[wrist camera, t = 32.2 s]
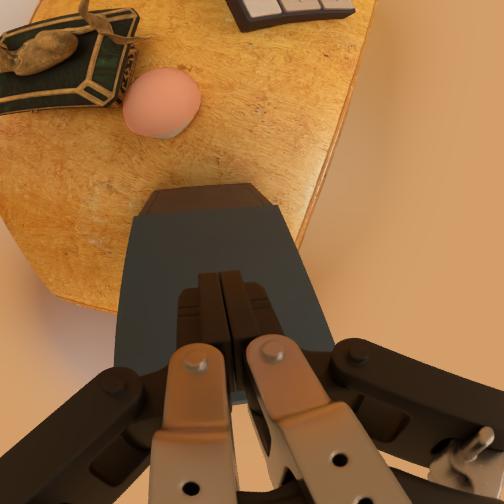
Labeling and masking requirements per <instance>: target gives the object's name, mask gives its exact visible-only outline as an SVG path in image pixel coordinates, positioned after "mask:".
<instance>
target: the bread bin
mask: <svg viewBox="0 0 504 504" xmlns="http://www.w3.org/2000/svg"><path fill="white" fill-rule="evenodd" d="M265 205H273V204H272V203H271V202H270V201H269V200H267V199H266V198H265V197H264V196H263V195H262V194H261V193H260V192H259V191H258V190H257V189H256V188H255V187H254V186H253V185H252V184H251V183H242V184H224V185H209V186H196V187H185V188H174V189H164V190H155V191H154V192H153V193H152V195H151V196H150V198H149V199H148V201H147V202H146V204H145V206H144V207H143V209H142V210H141V212H140V213H139V215H138V216H144V215H153V214H163V213H173V212H183V211H194V210H206V209H219V208H233V207H248V206H265Z"/></svg>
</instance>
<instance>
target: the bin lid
mask: <svg viewBox="0 0 504 504" xmlns="http://www.w3.org/2000/svg"><path fill="white" fill-rule="evenodd" d="M229 270H240V272H241V275H242V279H243V282H244V283H246V282H257V283H258V284H259V285H261V286H262V287H263V288H264V289H265V291H266V293H267V295H268V298H269V300H270V302H271V304H272V307H273V309H274V311H275V314H276V316H277V318H278V320H279V323H280V325H281V327H282V329H283V332H284V334H285V336H286V337H288V338H290V339H292V340H293V341H294V342H295V343H296V344H297V345H298V346H299V348H301V349H304V350H308V351H320V352H332V351H333V348H334V346H335V343H334V340H333V338H332V335H331V332H330V330H329V327H328V324H327V322H326V319H325V317H324V314H323V312H322V309H321V307H320V304H319V302H318V299H317V297H316V294H315V291H314V289H313V287H312V284H311V282H310V279H309V277H308V274H307V272H306V269H305V267H304V265H303V262H302V260H301V257H300V255H299V253H298V250H297V248H296V246H295V243H294V241H293V239H292V236H291V234H290V232H289V229H288V227H287V225H286V223H285V220H284V218H283V216H282V214H281V211H280V209H279V207H278V205H265V206H248V207H233V208H219V209H206V210H194V211H183V212H173V213H163V214H153V215H144V216H135V217H134V218H133V223H132V227H131V232H130V237H129V242H128V247H127V252H126V258H125V264H124V270H123V276H122V283H121V290H120V297H119V305H118V314H117V325H116V336H115V351H114V352H115V353H114V367H126V368H129V369H132V370H133V371H135V372H136V373H137V374H138V375H139V377H140V376H143V375H146V374H150V373H153V372H156V371H158V370H160V369H162V368H164V367H165V366H167V365H168V364H169V362H170V358H171V356H172V355H173V354H174V352H176V341H177V318H178V317H177V311H178V297H179V296H180V294H181V293H182V291H183V290H184V289H186V288H197V287H198V274H199V273H209V272H218V276H219V271H229ZM219 281H220V279H219ZM234 383H235V392H231V401H232V405H239V404H246V403H248V401H247V397H246V393H245V390H244V391H237V387H236V382H235V378H234Z"/></svg>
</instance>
